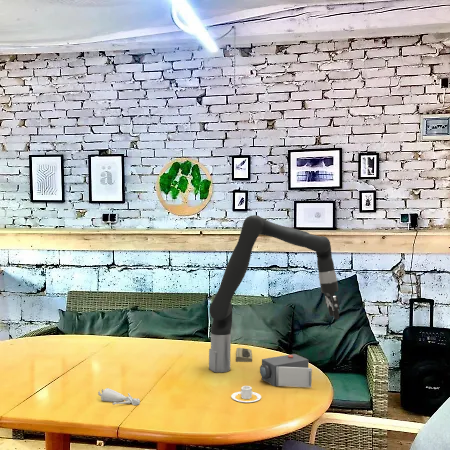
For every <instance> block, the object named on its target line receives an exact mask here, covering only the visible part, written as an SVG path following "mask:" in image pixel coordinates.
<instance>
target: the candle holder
mask: <svg viewBox="0 0 450 450" xmlns="http://www.w3.org/2000/svg"><path fill="white" fill-rule="evenodd" d="M252 388H253V387H252V386H250V385H243V386H241V389H240V391H235V392H234V393H232V394H231V399H232V400H234V401H236V402H239V403H255V402H258V401H259V400H261V399H262V395H261V394H260V393H257V392H254V391H253V389H252ZM238 394H239V395H240V396H241V399H244V400H241V399H237V398H236V397H237V396H239V395H238ZM253 396H256V399H255V400H250V398H251V399H252V397H253ZM246 400H248V401H246Z"/></svg>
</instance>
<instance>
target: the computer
mask: <svg viewBox="0 0 450 450" xmlns="http://www.w3.org/2000/svg"><path fill="white" fill-rule="evenodd" d="M235 352H236V353H235V362H237V363H238V362H239V363H240V362H241V363H252V362H253V353H252V349H249V348H246V347H245V348H244V347H237V348H236V351H235Z"/></svg>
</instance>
